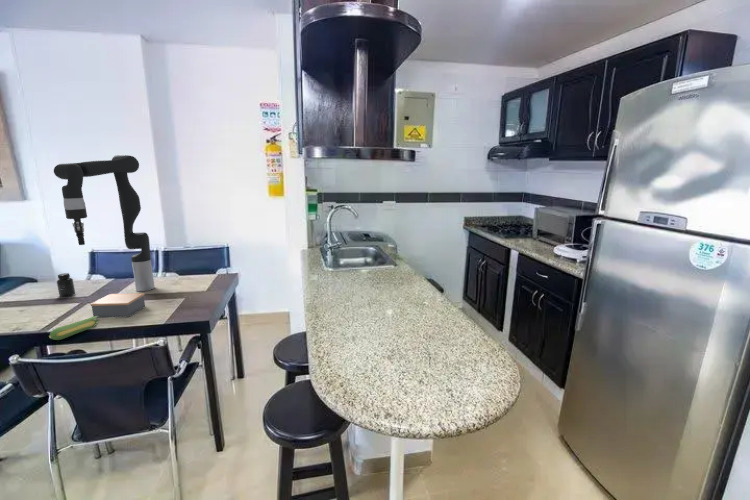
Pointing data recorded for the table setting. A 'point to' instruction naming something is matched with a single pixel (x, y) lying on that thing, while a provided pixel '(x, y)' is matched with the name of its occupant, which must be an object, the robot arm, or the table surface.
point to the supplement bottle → (65, 285)
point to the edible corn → (73, 328)
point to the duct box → (118, 309)
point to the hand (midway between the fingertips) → (82, 244)
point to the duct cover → (118, 299)
